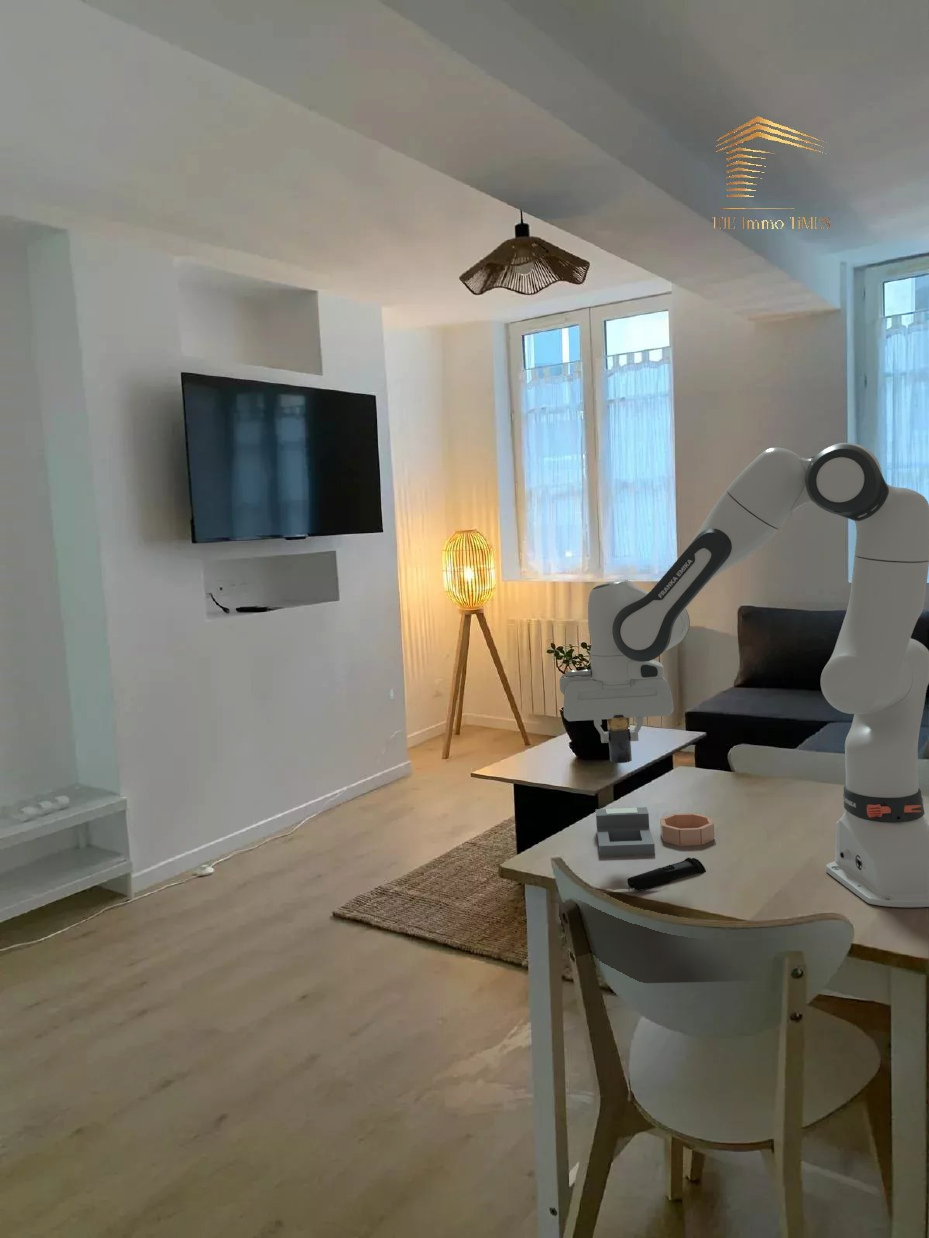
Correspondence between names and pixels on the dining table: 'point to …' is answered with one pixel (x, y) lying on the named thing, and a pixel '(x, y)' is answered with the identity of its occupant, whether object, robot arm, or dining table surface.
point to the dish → (687, 829)
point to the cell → (619, 739)
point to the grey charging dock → (624, 832)
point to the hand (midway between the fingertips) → (619, 741)
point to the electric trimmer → (665, 874)
